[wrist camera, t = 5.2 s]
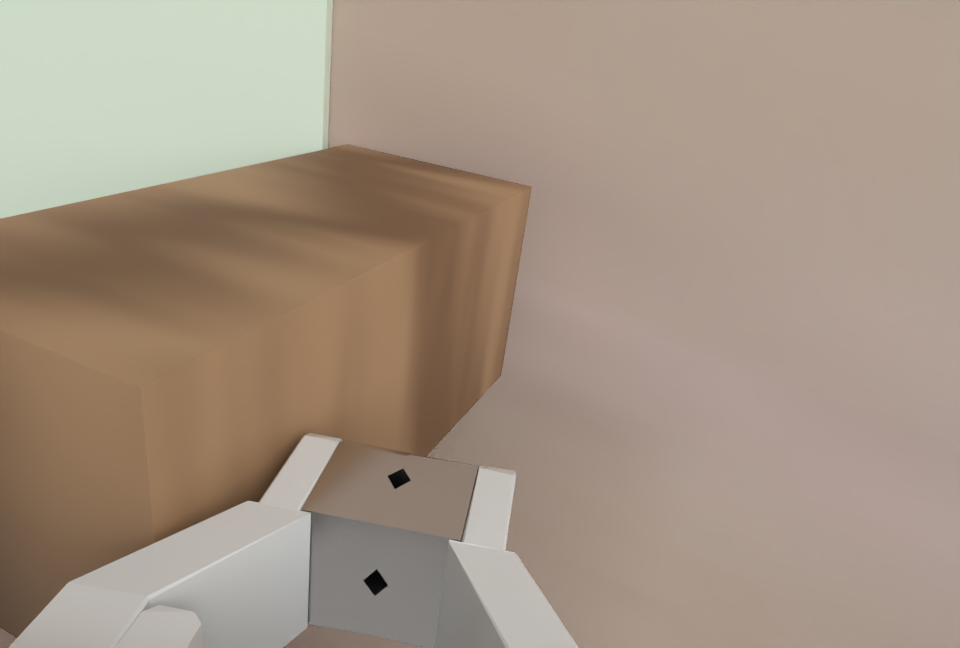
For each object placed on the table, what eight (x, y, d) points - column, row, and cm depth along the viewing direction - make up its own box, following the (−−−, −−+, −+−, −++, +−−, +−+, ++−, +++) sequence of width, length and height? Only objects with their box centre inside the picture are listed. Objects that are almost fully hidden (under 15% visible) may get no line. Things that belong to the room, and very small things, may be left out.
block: (531, 186, 16) (139, 388, 7) (501, 375, 18) (171, 731, 9) (347, 144, 17) (-180, 257, 8) (339, 322, 20) (-88, 574, 10)
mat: (347, -419, 13) (340, -432, 13) (319, 394, 21) (314, 401, 20) (-401, -492, 14) (-426, -505, 14) (-168, 301, 22) (-181, 306, 22)
